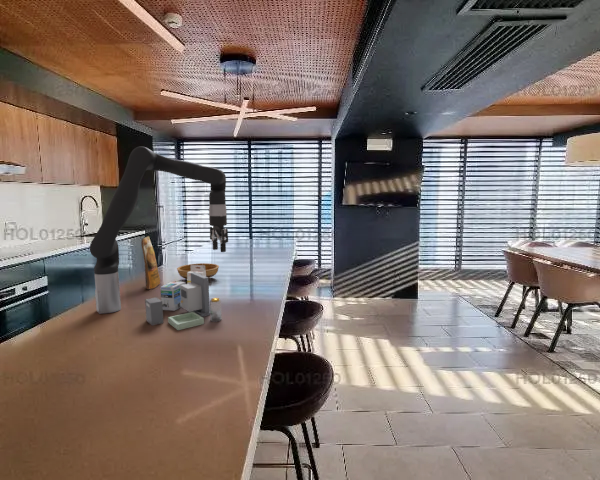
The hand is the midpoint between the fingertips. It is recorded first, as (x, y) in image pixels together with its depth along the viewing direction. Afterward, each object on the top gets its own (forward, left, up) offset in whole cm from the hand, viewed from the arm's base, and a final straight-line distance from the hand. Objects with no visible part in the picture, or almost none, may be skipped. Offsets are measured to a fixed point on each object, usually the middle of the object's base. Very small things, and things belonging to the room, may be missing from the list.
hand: (219, 250), depth 159 cm
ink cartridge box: (0, +27, -26) cm, 38 cm away
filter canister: (-10, -15, -26) cm, 31 cm away
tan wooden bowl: (+13, +55, -26) cm, 63 cm away
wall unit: (-11, 0, -26) cm, 28 cm away
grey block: (-30, -1, -26) cm, 39 cm away
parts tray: (-21, -11, -26) cm, 35 cm away
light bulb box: (-17, +13, -26) cm, 34 cm away
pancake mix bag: (-13, +59, -26) cm, 66 cm away
